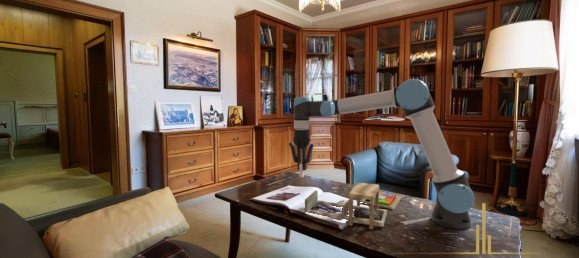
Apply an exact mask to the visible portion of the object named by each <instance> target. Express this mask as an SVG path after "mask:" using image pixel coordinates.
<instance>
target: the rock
mask: <svg viewBox="0 0 579 258" xmlns="http://www.w3.org/2000/svg"><path fill="white" fill-rule="evenodd" d="M353 217H358V218H364V219H370V210H369V209H361V208H356V209H355V210H354V212H353ZM374 220H377V221H381V220H382V217H381V216H380V215H379V214H377V213H376V212H374Z"/></svg>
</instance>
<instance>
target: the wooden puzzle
mask: <svg viewBox="0 0 579 258" xmlns="http://www.w3.org/2000/svg"><path fill="white" fill-rule="evenodd" d="M402 199H403V198H402V196H397V195H396V194H392V193H386V192H381V191H379V208H382V209H383V208H384V209H386V210H387V209H388V210H391V211H392V210H394V209H396V208H397V206H398V205H399V203H400V201H401V200H402ZM360 202H363V203H367V204H366V205H368V206H370V200H368V199H362V200H361V199H360ZM363 203H362V204H363ZM374 207H375V198H374Z"/></svg>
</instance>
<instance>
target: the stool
mask: <svg viewBox="0 0 579 258" xmlns="http://www.w3.org/2000/svg"><path fill="white" fill-rule="evenodd" d="M379 192H380V184H376V183H367V182H357V183H355V185H354V186H353V188H352V189H351V190H350V192H349V193H348V195H349V196H348V199H349V221H348V226H351V227H352V226H353V225H354V222H353V217H354V212H353V205H354V199H356V206H361V203H360V201H361V199H368V200H370V205H369V208H370V225H368V226H369V230H373V229H374V226H373V223H374V208H375V209H380V207H379ZM374 198H375V206H374Z"/></svg>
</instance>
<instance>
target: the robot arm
mask: <svg viewBox="0 0 579 258" xmlns="http://www.w3.org/2000/svg"><path fill="white" fill-rule="evenodd" d="M392 107H394V108H395V109H399V108H400V109H401V110H402V113H403V115H404V117H405V119H408V120H410V121H411V124H412V126H413V129H414V130H415V131H414V132H415V133H416V136H417V138H418V140H419V143H420V146H421V148H422V150H423V152H424V155H425V157H426V160H427V162H428V164H429V166H430V169H431V171H432V174H433V176H432V178H431V182H432V184H433V187H434V189H435V191H436V201H435V204H434V207H433V209H432V211H431V214H430V219H431V221H432V222H434V223H435V224H436V225H439V226H442V227H444V228H448V229H454V230H455V229H456V230H457V229H458V230H464V229H469V228H470V227H472V219H471V215H470V213H469V210H471V209H472V208H473V206H474V204H475V198H476V196H475V193H474V191H473V190H472V188H471V186H470V183H469V179H470V177H469V172H467V171H465V170H460V169H458V167H457V165H456V163H455V160H454V158H453V156H452V153H451V151H450V149H449V147H448V144H447V141H446V139H445V137H444V135H443V132H442V129H441V127H440V125H439V123H438V120H437V118H436V116H435V113H434V110H435V107H436V104H435V102H434V100H433V97H432V95H431V93H430V90H429V86H428V84H426V83H425V82H424V81H422V80H421V79H417V78H410V79H407V80H405V81H402V83H401V84H400V85H399V86H396V87H395V86H394V87H392V88H391V89H390V90H385V91H380V92H378V91H377V92H373V93H368V94H362V95H361V94H360V95H356V96H350V97H344V98H339V99H334V100H332V99H331V100H311V99H310V97H309V96H296V97H295V98H293V128H294V130H293V140H292V141H291V142H289V143H288V145H289V147H290V150H291V154H292V158H293V162H294V163H297V171H299V178H304V177H305V171H306V170H307V164H309V163H310V162H311V161H310V160H311V157H312V153H313V149H314V147H315V146H316V144H315V143H313V142H311V139H310V118H325V119H326V118H333V117H334V116H338V115H343V114H345V115H346V114H351V113H359V112H365V111H371V110H373V111H374V110H378V109H379V110H380V109H385V108H392ZM308 146H309V147H308ZM307 147H308V150H307Z"/></svg>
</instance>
